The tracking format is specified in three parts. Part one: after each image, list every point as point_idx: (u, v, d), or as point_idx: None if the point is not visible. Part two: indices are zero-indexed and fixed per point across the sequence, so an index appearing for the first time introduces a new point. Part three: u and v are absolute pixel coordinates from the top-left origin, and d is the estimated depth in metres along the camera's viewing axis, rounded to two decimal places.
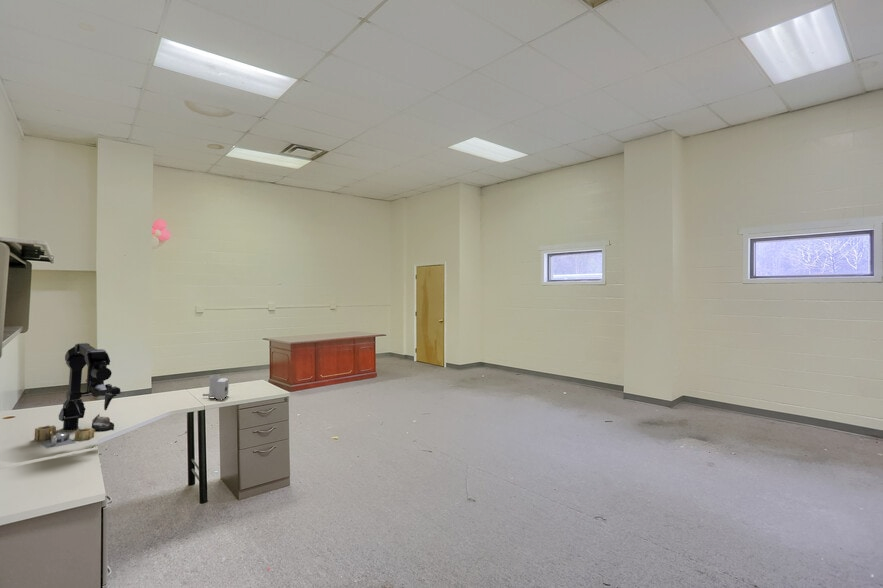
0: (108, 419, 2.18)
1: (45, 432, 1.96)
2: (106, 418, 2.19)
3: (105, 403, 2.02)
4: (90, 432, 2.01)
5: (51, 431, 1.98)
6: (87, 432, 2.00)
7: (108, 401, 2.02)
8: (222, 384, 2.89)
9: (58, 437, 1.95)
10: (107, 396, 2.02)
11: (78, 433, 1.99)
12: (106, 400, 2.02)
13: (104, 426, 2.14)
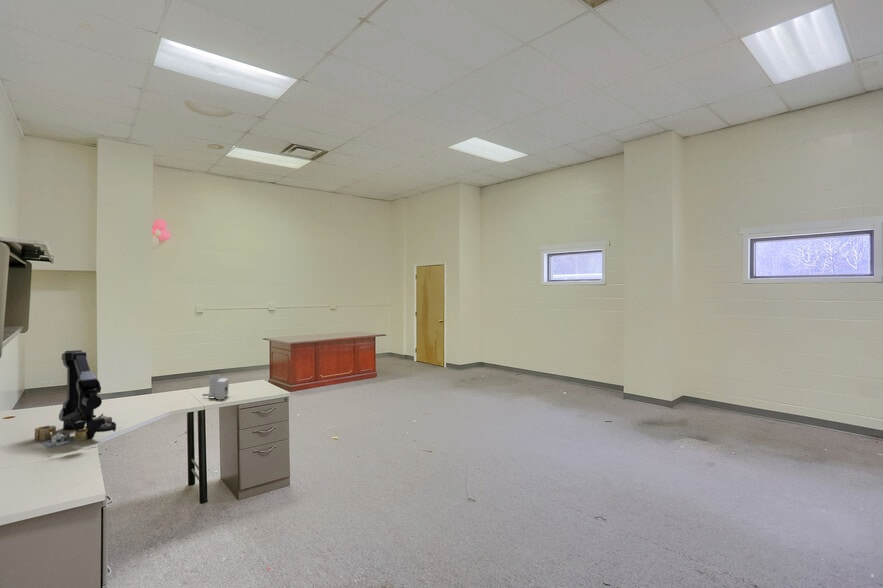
0: (110, 419, 2.19)
1: (45, 432, 1.96)
2: (109, 418, 2.19)
3: None
4: None
5: (51, 431, 1.98)
6: (87, 432, 2.00)
7: (88, 432, 1.99)
8: (222, 384, 2.89)
9: (58, 437, 1.95)
10: None
11: (78, 433, 1.99)
12: None
13: (105, 426, 2.15)
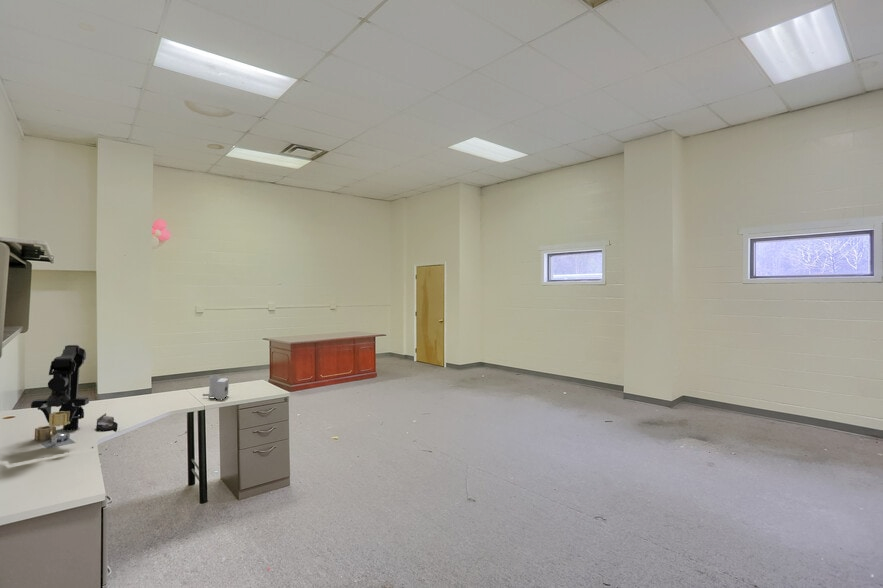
0: (112, 419, 2.19)
1: (45, 432, 1.96)
2: (111, 418, 2.19)
3: None
4: None
5: (51, 431, 1.98)
6: (67, 414, 1.93)
7: (71, 412, 1.93)
8: (222, 384, 2.89)
9: (58, 437, 1.95)
10: None
11: (59, 415, 1.90)
12: None
13: (106, 426, 2.15)
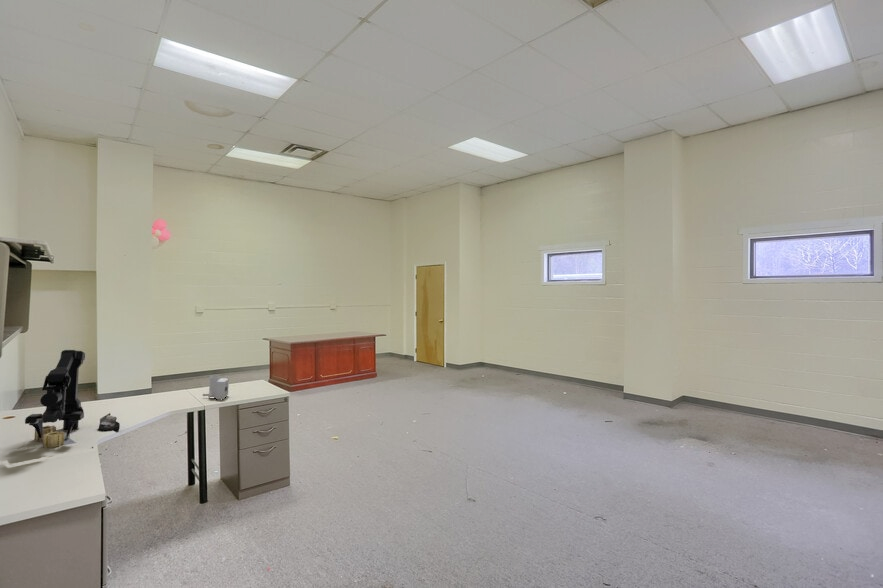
0: (115, 419, 2.19)
1: (45, 432, 1.96)
2: (114, 418, 2.20)
3: (68, 429, 1.93)
4: (64, 434, 1.93)
5: (51, 431, 1.98)
6: None
7: (69, 427, 1.92)
8: (222, 384, 2.89)
9: None
10: None
11: (53, 436, 1.89)
12: None
13: (108, 426, 2.15)
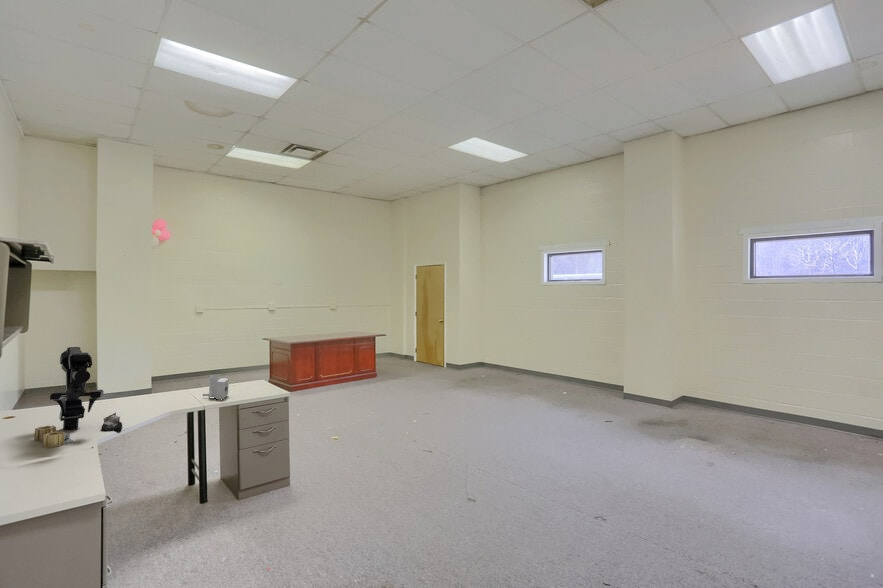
0: (118, 419, 2.19)
1: (45, 432, 1.96)
2: (117, 418, 2.20)
3: (89, 405, 2.07)
4: (64, 434, 1.93)
5: (51, 431, 1.98)
6: None
7: (90, 404, 2.06)
8: (222, 384, 2.89)
9: None
10: None
11: (53, 436, 1.89)
12: None
13: (110, 426, 2.15)
